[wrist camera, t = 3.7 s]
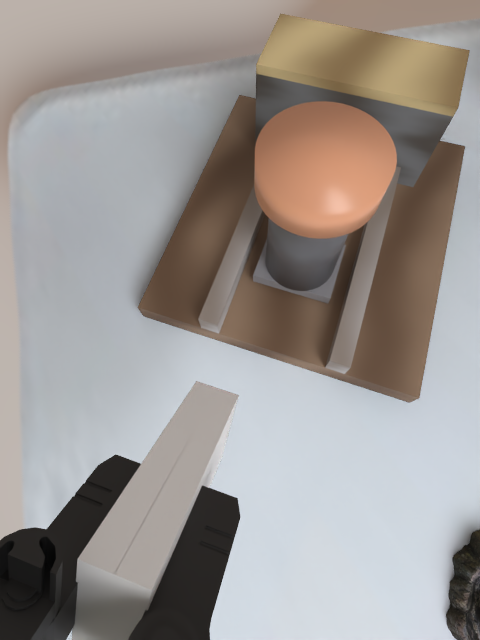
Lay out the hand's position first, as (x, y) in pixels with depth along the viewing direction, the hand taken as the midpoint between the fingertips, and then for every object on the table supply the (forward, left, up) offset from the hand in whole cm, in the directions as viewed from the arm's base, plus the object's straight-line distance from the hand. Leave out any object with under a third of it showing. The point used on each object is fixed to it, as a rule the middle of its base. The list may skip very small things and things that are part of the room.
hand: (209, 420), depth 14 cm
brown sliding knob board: (-1, -16, -11) cm, 19 cm away
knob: (-1, -12, -9) cm, 15 cm away
